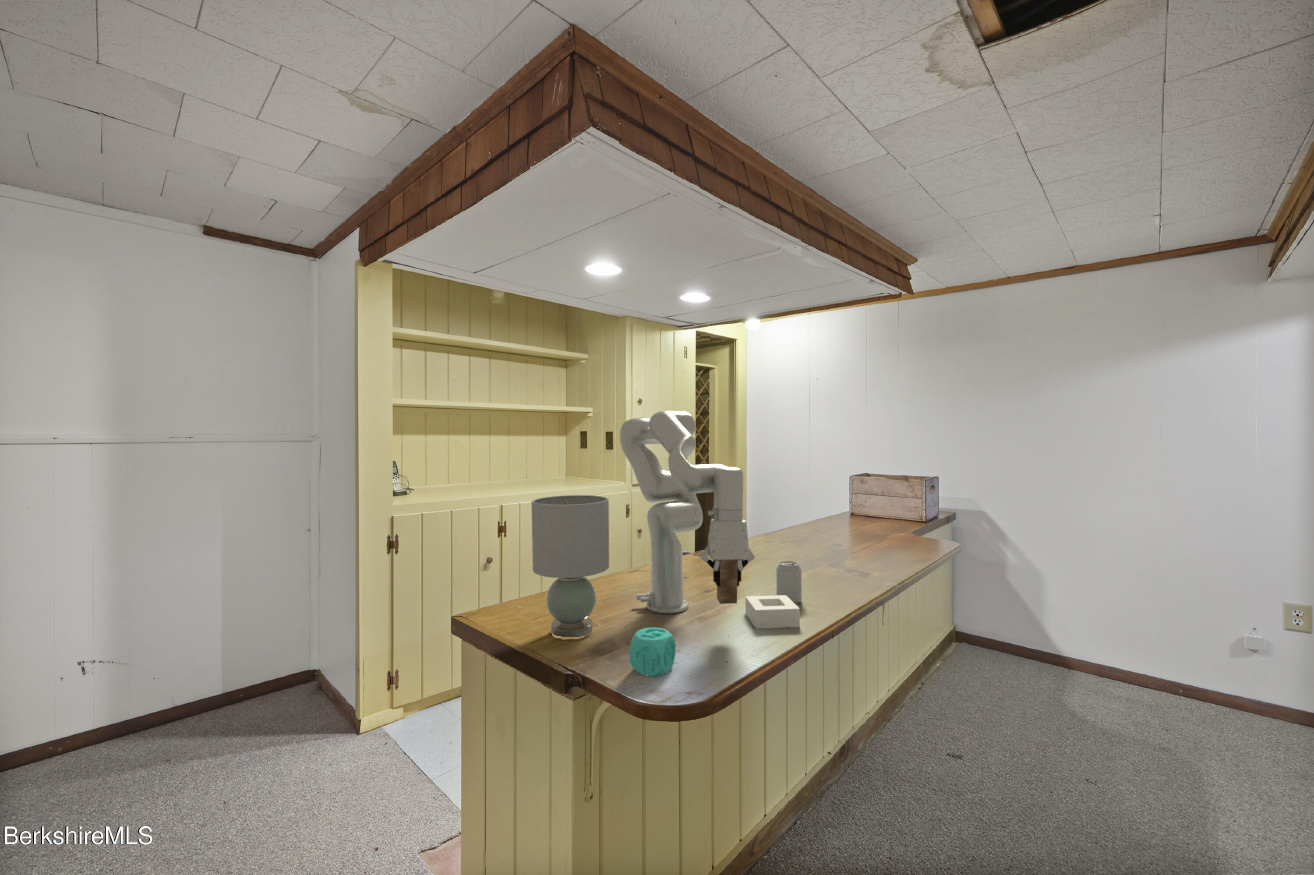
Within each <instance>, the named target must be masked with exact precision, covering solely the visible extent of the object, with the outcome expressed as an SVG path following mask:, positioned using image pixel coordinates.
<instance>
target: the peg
mask: <svg viewBox="0 0 1314 875" xmlns="http://www.w3.org/2000/svg"><path fill="white" fill-rule="evenodd" d="M719 571H720V586H717V585H716V599H717V600H718V603H719V604H721V605H722V604H723V605H724V604H730V605H731V604H732V605H733V604H738V586H737V572H738V560H720V564H719Z"/></svg>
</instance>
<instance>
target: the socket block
mask: <svg viewBox="0 0 1314 875" xmlns="http://www.w3.org/2000/svg"><path fill="white" fill-rule="evenodd" d="M744 598H745V606H744V607H745V615H746V617H747V618H748V619H749V621H750V622H751V624H752V625H753V626H754V628H755V629H785V628H786V627H789V628H800V627H801V621H800V619H801V618H800V617H801V614H800V612H801V609H800V607H799V606H798V605H797V604H794V603H793V602H792V601H791V600H790V599H789V598H788V597H787V596H786V595H777V594H776V595H751V596H749V595H748V596H745V597H744Z"/></svg>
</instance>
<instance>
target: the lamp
mask: <svg viewBox="0 0 1314 875" xmlns="http://www.w3.org/2000/svg"><path fill="white" fill-rule="evenodd" d="M609 501H610V499H609V498H608V497H604V496H601V495H600V496H599V495H589V494H588V495H586V494H585V495H583V494H578V495H577V494H574V495H573V494H572V495H570V494H569V495H554V496H553V495H552V496H545V497H539V498H535V499H533V500H532V501H531V539H532V540H531V542H532V545H531V546H532V572H533V574H536V575H538V576H541V577H546V578H552V579H553V578H554V579H555V580H554V581H553V582H552V583H551V585H550V586H549V588H548V590H547V594H546V606H547V609H548V612H549V614H550V615H551V617H552V618H554V620H553V621H552V622H551V623H550V633H551V632H552V633H553V634H554V635H556V636H561V637H581V636H586V635H588V634H590V633H591V632H592V630H593V619H591V617H590V616H591V614H592V613H593V611H594V609H595V606H596V602H597V594H596V589H595V586H594V585H593V583H592V582H591V581H590V579H588V578H587V577H590V576H591V577H592V576H594V575H598V574H602V573H604V572H605V571H607V570H608V569H609V568H610V523H609V522H610V520H609V518H610V506H609V505H610V502H609ZM592 633H593V632H592Z"/></svg>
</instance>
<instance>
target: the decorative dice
mask: <svg viewBox="0 0 1314 875" xmlns="http://www.w3.org/2000/svg"><path fill="white" fill-rule="evenodd" d="M676 646H677V645H676V641H675V637H674V636H673V634H671V632H670V631H669V630H668V629H665V628H660V627H645V628H641V629H639V630H638V631H636V632H635V633H634V635H633V636H632V639H631V641H630V646H629V651H628V652H629V653H628V654H629V655H628V656H629V663H630V665H631V666H632V669H633V670H634V671H635V672H636V673H638V674H639V673H640V674H639V675H641V674H643V675H642V676H644V675H648V676H647V677H650V676H655V677H660V676H659V675H661V676H664V675H666V674H668V673H669V672H670V671H671V670H672V668H673V666H674V663H675V658H676V650H677V649H676V648H677V647H676ZM663 674H664V675H663Z"/></svg>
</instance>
